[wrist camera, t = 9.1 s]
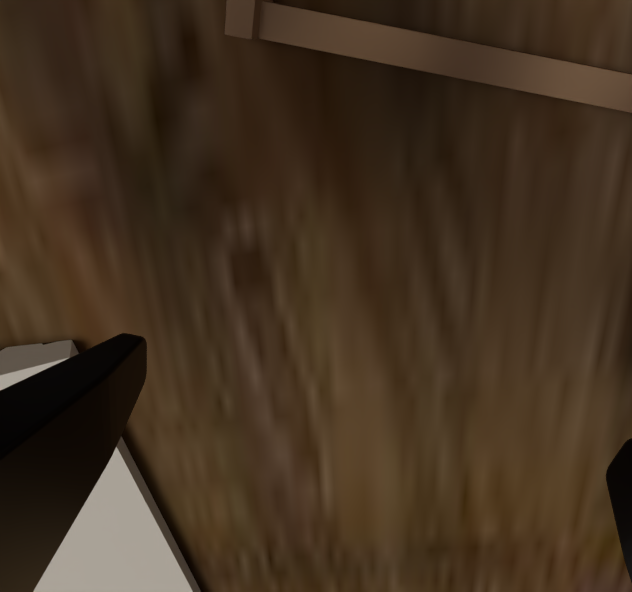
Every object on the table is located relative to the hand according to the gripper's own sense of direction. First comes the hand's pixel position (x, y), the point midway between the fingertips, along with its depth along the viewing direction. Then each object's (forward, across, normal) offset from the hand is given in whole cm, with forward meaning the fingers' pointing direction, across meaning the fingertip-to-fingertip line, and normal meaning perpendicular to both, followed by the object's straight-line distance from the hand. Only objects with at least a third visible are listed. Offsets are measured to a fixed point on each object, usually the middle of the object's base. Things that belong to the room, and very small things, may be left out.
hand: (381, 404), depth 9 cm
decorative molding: (+13, +11, +28) cm, 32 cm away
